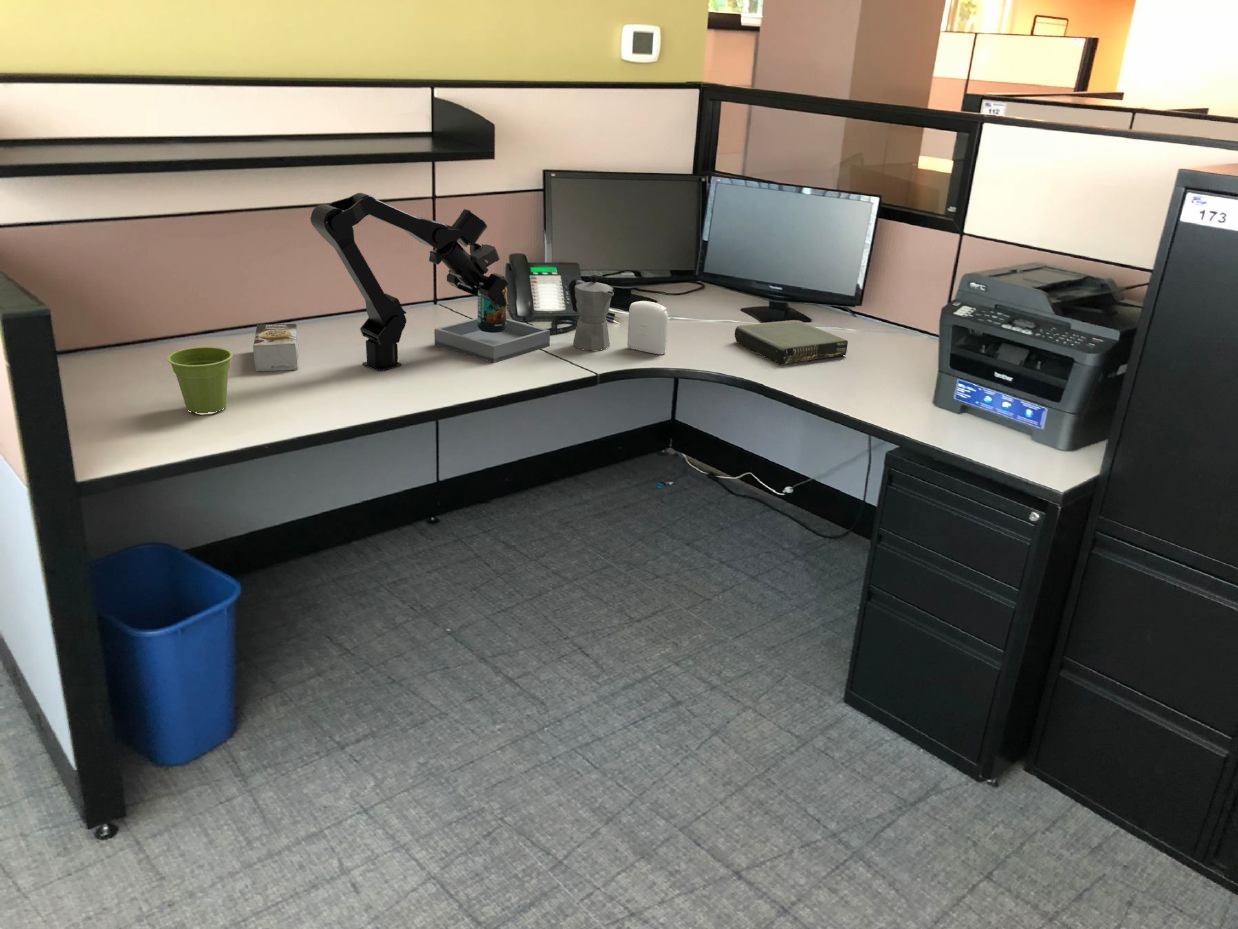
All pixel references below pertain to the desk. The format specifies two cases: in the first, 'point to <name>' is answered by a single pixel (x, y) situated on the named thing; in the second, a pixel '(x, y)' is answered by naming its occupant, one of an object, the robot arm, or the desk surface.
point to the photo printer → (647, 327)
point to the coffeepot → (591, 313)
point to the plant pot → (202, 377)
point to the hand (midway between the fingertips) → (496, 302)
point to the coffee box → (276, 347)
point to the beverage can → (491, 314)
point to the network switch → (790, 341)
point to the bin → (492, 339)
